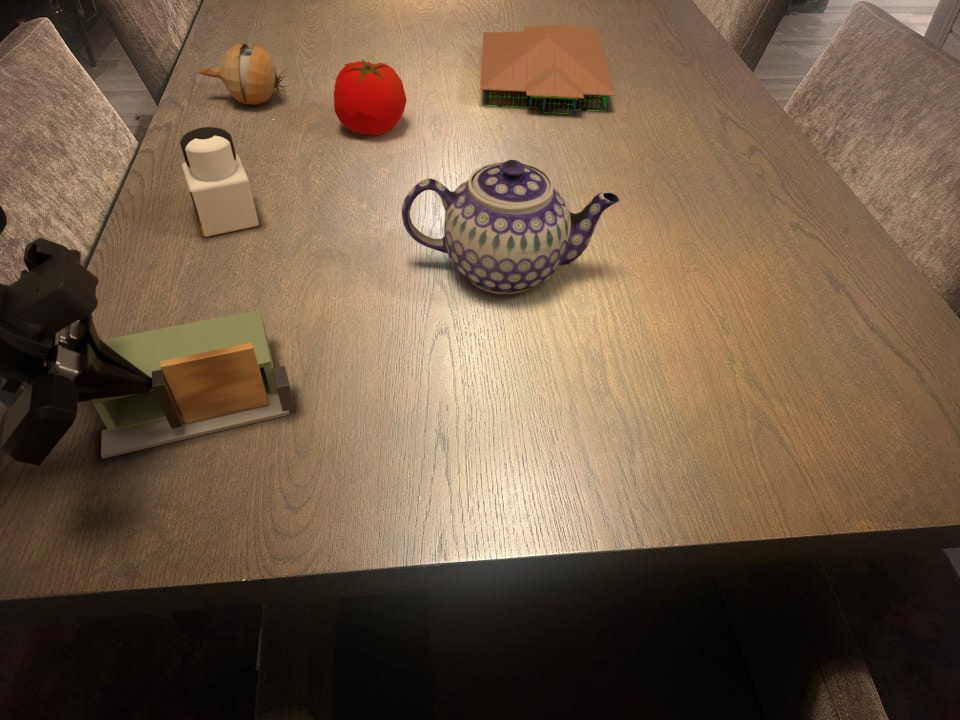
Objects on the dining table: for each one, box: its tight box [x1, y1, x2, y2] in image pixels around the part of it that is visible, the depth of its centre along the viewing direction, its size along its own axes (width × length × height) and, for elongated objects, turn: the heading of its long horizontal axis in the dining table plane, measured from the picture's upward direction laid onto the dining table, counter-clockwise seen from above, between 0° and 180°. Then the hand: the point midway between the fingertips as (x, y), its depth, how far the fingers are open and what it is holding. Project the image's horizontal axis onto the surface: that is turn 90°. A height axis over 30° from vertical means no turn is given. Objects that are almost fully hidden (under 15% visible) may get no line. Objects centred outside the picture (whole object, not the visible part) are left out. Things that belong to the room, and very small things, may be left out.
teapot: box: [401, 159, 620, 295], centre depth 79 cm, size 25×15×15 cm, turn 86°
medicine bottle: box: [179, 126, 260, 238], centre depth 86 cm, size 7×7×12 cm
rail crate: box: [90, 309, 296, 459], centre depth 67 cm, size 18×11×5 cm, turn 110°
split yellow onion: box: [197, 41, 290, 106], centre depth 111 cm, size 9×9×15 cm
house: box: [480, 24, 616, 115], centre depth 123 cm, size 23×33×8 cm
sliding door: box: [152, 343, 269, 429], centre depth 63 cm, size 9×2×8 cm, turn 110°
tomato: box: [333, 58, 408, 137], centre depth 106 cm, size 12×12×10 cm
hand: (151, 386), depth 60 cm, fingers closed, pressing on sliding door
